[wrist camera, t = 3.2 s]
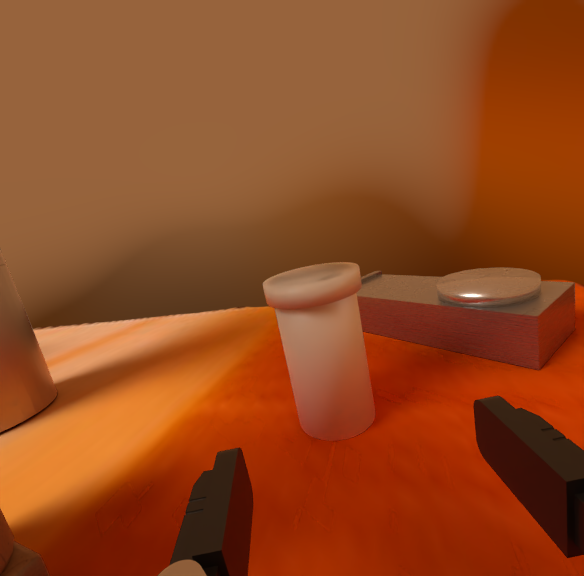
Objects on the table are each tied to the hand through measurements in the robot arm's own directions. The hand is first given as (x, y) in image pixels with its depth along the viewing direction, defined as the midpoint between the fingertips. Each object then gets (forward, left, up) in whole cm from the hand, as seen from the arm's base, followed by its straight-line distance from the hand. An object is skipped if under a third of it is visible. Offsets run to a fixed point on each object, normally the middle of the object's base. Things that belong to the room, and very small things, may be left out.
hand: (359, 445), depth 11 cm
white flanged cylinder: (-9, +6, -6) cm, 12 cm away
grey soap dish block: (-11, +22, -6) cm, 25 cm away
